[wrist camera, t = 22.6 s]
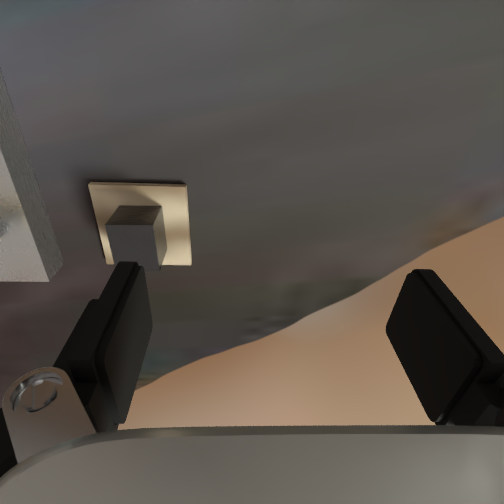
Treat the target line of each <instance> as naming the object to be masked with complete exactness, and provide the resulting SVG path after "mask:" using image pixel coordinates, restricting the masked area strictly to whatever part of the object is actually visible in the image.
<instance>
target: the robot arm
mask: <svg viewBox="0 0 504 504" xmlns="http://www.w3.org/2000/svg"><path fill="white" fill-rule="evenodd" d="M151 332H152V316H151V310H150V304H149V297H148V291H147V284H146V278H145V272H144V267H143V266H139V265H138V263H137V262H132V261H119V262H118V264H117V265H116V267H115V269H114V271H113V273H112V275H111V277H110V279H109V281H108V282H107V284H106V286H105V288H104V290H103V292H102V294H101V296H100V298H99V299H92V300H91V301H90V302H89V303H88V305H87V306H86V308H85V310H84V312H83V314H82V315H81V317H80V319H79V321H78V322H77V324H76V326H75V328H74V330H73V331H72V333H71V335H70V337H69V339H68V340H67V342H66V344H65V346H64V347H63V349H62V351H61V353H60V355H59V356H58V358H57V360H56V362H55V363H54V365H53V367H45V368H39V369H37V370H34V371H31V372H29V373H27V374H26V375H24V376H22V377H21V378H19V379H18V380H17V381H16V382H15V383H14V384H12V385H11V387H10V388H9V389H8V391H7V392H6V393H5V396H4V398H3V401H2V408H1V409H0V504H504V354H503V353H502V352H501V351H500V349H499V348H498V347H497V346H496V345H495V344H494V342H493V341H492V340H491V339H490V337H489V336H488V335H487V334H486V333H485V332H484V330H483V329H482V328H481V327H480V326H479V324H478V323H477V322H476V321H475V320H474V318H473V317H472V316H471V315H470V314H469V312H467V310H466V309H465V308H464V306H463V305H462V304H461V303H460V302H459V300H458V299H457V298H456V297H455V296H454V295H453V293H452V292H451V291H450V290H449V289H448V287H447V286H446V285H445V284H444V283H443V281H442V280H441V279H440V278H439V277H438V275H437V274H436V273H435V272H434V271H433V270H430V269H415V270H413V271H412V272H411V273H409V274H408V275H407V276H406V279H405V281H404V283H403V286H402V289H401V291H400V293H399V296H398V298H397V301H396V303H395V305H394V308H393V310H392V312H391V315H390V318H389V320H388V322H387V325H386V333H387V336H388V338H389V340H390V342H391V344H392V346H393V348H394V350H395V352H396V354H397V356H398V358H399V360H400V362H401V364H402V366H403V368H404V370H405V372H406V374H407V376H408V378H409V380H410V382H411V384H412V386H413V388H414V390H415V392H416V394H417V396H418V398H419V400H420V402H421V403H422V406H423V408H424V410H425V412H426V414H427V416H428V417H429V419H430V420H431V421H432V422H435V424H436V425H416V426H415V425H381V426H380V425H364V426H363V425H361V426H360V425H359V426H358V425H355V426H354V425H352V426H233V427H232V426H231V427H230V426H228V427H173V428H141V429H127V430H117V428H118V425H119V424H123V423H124V422H125V421H126V418H127V414H128V411H129V407H130V404H131V401H132V397H133V394H134V390H135V387H136V383H137V380H138V377H139V373H140V370H141V366H142V363H143V359H144V356H145V353H146V349H147V346H148V342H149V339H150V335H151Z"/></svg>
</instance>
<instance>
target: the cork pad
mask: <svg viewBox="0 0 504 504" xmlns="http://www.w3.org/2000/svg"><path fill="white" fill-rule="evenodd" d="M88 186H89V191H90V195H91V199H92V203H93V207H94V211H95V216H96V220H97V224H98V228H99V232H100V237H101V241H102V245H103V249H104V253H105V258H106V262H107V264H114V261H113V257H112V253H111V249H110V244H109V240H108V236H107V232H106V228H105V224H106V223H107V221H108V220H109V219H110V217H111V216H112V215H113V213H114V212H115V210H116V209H117V208H118V206H119V205H133V206H162V210H163V218H164V226H165V233H166V241H167V251H166V254H165V257H164V260H163V263H162V265H191V263H192V257H191V243H190V228H189V213H188V198H187V184H148V183H109V182H90V183H89V184H88Z"/></svg>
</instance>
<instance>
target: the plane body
mask: <svg viewBox="0 0 504 504" xmlns="http://www.w3.org/2000/svg"><path fill="white" fill-rule="evenodd" d="M63 264H64V262H63V259H62V256H61V253H60V250H59V247H58V244H57V241H56V238H55V235H54V231H53V228H52V225H51V222H50V219H49V216H48V213H47V210H46V207H45V204H44V201H43V198H42V195H41V191H40V188H39V185H38V182H37V179H36V176H35V173H34V170H33V167H32V164H31V161H30V158H29V155H28V152H27V148H26V145H25V142H24V139H23V136H22V133H21V130H20V127H19V124H18V121H17V118H16V115H15V112H14V108H13V105H12V102H11V99H10V96H9V93H8V90H7V87H6V84H5V81H4V78H3V75H2V72H1V68H0V281H29V282H49V281H50V280H51V279H52V278H53V276H54V275H55V274H56V273H57V271H58V270H59V269H60V268H61V266H62V265H63Z"/></svg>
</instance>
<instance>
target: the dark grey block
mask: <svg viewBox="0 0 504 504" xmlns="http://www.w3.org/2000/svg"><path fill="white" fill-rule="evenodd" d="M105 228H106V232H107V236H108V240H109V244H110V249H111V253H112V257H113V261H114V265H115V267H116V265H117V264H118V262H119V261H132V262H137V263H138V265H139V266H143V267H144V271H160V269H161V266H162V263H163V260H164V257H165V254H166V251H167V241H166V233H165V226H164V218H163V210H162V206H133V205H119V206H118V208H117V209H116V210H115V212H114V213H113V215H112V216H111V217H110V219H109V220H108V221H107V223H106V224H105Z"/></svg>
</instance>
